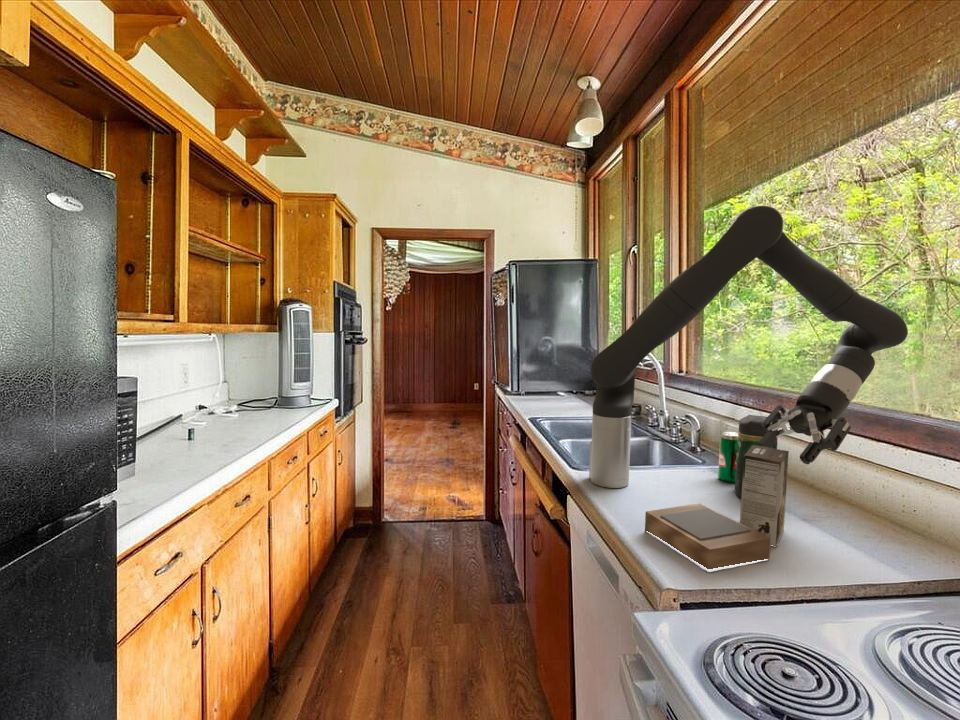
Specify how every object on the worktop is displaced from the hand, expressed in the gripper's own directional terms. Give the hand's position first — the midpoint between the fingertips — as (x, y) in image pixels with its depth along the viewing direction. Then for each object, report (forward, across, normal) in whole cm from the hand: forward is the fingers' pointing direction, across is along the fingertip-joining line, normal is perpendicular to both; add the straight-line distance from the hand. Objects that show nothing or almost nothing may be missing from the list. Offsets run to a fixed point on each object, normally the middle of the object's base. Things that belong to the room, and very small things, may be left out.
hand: (782, 454), depth 93 cm
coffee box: (+14, 0, +8) cm, 16 cm away
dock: (+24, 0, -2) cm, 24 cm away
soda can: (0, -26, +22) cm, 34 cm away
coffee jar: (+2, -16, +19) cm, 25 cm away
